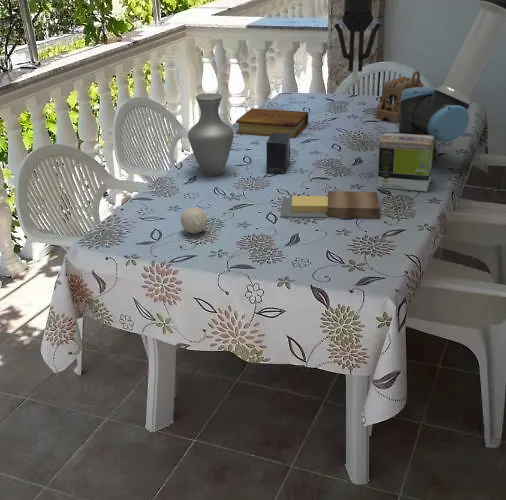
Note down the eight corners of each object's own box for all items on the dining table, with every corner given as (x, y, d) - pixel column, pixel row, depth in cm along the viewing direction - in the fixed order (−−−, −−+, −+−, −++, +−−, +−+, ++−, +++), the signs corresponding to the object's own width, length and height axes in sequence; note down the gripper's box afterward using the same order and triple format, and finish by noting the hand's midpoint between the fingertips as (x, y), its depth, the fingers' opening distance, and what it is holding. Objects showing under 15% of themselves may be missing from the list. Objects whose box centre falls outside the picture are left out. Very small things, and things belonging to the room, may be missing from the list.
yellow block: (327, 202, 198) (327, 196, 197) (327, 212, 191) (327, 206, 190) (292, 202, 198) (292, 195, 198) (291, 212, 192) (291, 205, 191)
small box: (285, 174, 220) (285, 142, 216) (265, 173, 222) (265, 142, 217) (291, 163, 230) (291, 132, 225) (271, 162, 231) (271, 132, 226)
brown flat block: (376, 201, 199) (377, 191, 197) (379, 218, 188) (380, 208, 187) (327, 200, 200) (328, 191, 199) (327, 217, 189) (328, 207, 188)
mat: (326, 200, 200) (326, 198, 200) (326, 218, 189) (326, 217, 189) (283, 199, 202) (283, 198, 201) (280, 217, 190) (280, 216, 190)
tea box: (430, 181, 212) (435, 134, 205) (427, 193, 204) (431, 144, 197) (381, 176, 217) (384, 130, 210) (376, 188, 208) (379, 140, 202)
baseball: (187, 240, 179) (185, 216, 176) (178, 229, 185) (176, 206, 182) (211, 235, 181) (210, 211, 178) (202, 224, 187) (201, 202, 184)
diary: (308, 126, 270) (308, 111, 267) (295, 140, 254) (295, 124, 251) (252, 121, 277) (252, 107, 274) (236, 134, 261) (236, 120, 258)
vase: (218, 183, 214) (214, 104, 203) (181, 176, 221) (175, 98, 210) (243, 169, 225) (241, 93, 214) (207, 162, 232) (203, 88, 221)
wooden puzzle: (401, 107, 288) (404, 62, 280) (432, 113, 279) (436, 67, 271) (370, 119, 274) (373, 72, 266) (402, 126, 265) (406, 77, 257)
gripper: (334, -2, 187) (332, 85, 197) (383, -3, 185) (378, 85, 196) (334, -5, 193) (332, 79, 204) (381, -6, 192) (376, 79, 203)
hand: (354, 82), depth 200 cm, fingers closed
